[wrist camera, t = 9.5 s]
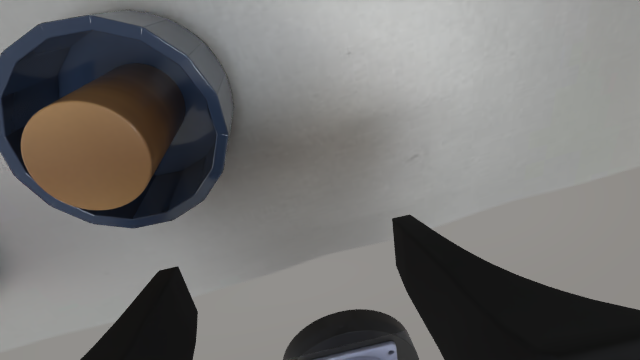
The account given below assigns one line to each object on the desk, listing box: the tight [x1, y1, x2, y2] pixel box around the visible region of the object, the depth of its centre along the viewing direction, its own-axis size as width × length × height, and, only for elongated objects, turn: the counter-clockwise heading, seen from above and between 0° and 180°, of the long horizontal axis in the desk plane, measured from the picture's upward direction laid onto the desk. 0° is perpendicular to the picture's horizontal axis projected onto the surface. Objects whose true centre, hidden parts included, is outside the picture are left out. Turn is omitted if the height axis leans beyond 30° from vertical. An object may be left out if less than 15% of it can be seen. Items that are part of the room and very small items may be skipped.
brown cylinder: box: [21, 63, 185, 210], centre depth 16 cm, size 4×4×7 cm
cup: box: [0, 10, 234, 228], centre depth 17 cm, size 9×9×5 cm
